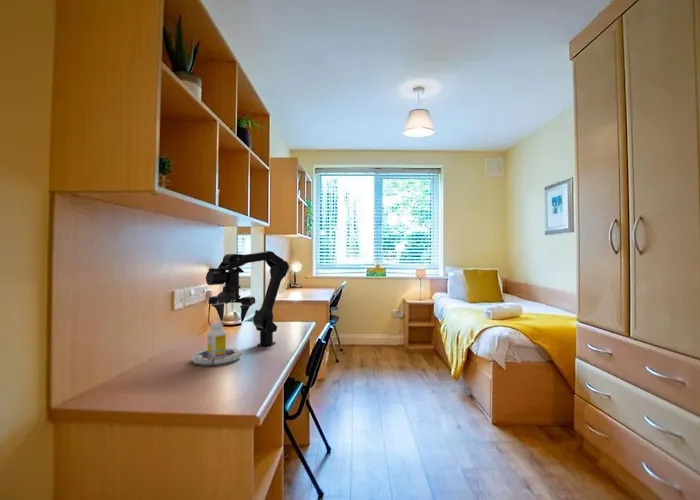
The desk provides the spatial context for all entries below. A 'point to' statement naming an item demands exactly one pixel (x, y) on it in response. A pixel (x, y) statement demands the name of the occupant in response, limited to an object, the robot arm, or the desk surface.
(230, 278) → the robot arm
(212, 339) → the supplement bottle
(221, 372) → the desk surface
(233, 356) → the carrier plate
